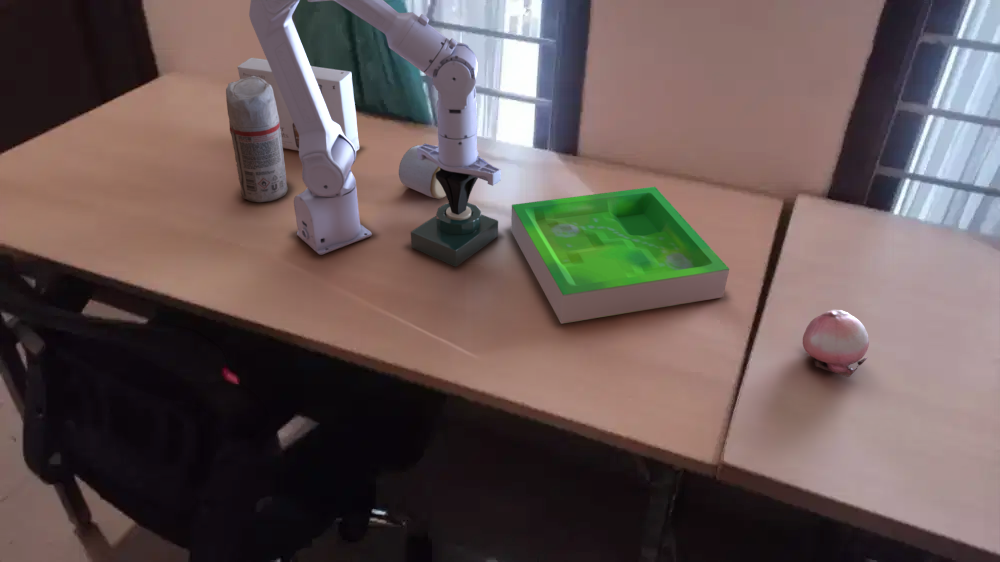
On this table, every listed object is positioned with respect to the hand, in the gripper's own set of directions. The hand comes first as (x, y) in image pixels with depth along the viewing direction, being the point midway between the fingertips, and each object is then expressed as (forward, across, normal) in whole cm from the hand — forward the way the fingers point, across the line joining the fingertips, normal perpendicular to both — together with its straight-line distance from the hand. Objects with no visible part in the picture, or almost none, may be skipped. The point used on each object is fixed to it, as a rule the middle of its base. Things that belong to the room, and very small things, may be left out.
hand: (458, 211), depth 121 cm
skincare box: (+5, +45, -8) cm, 46 cm away
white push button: (+2, 0, 0) cm, 2 cm away
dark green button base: (+5, 0, +1) cm, 5 cm away
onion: (+6, -57, -6) cm, 58 cm away
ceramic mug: (+5, +14, -10) cm, 18 cm away
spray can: (+5, +37, +8) cm, 38 cm away
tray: (+5, -23, -9) cm, 25 cm away
